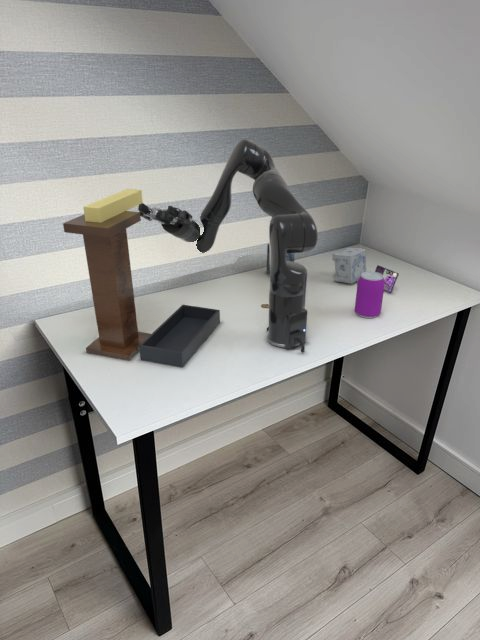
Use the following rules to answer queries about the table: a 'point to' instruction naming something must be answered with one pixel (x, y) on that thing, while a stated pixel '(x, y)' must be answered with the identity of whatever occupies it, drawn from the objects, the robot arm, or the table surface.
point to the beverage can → (369, 294)
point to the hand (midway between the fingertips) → (154, 207)
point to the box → (288, 257)
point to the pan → (180, 336)
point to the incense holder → (349, 265)
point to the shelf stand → (111, 284)
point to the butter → (112, 205)
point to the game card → (388, 277)
